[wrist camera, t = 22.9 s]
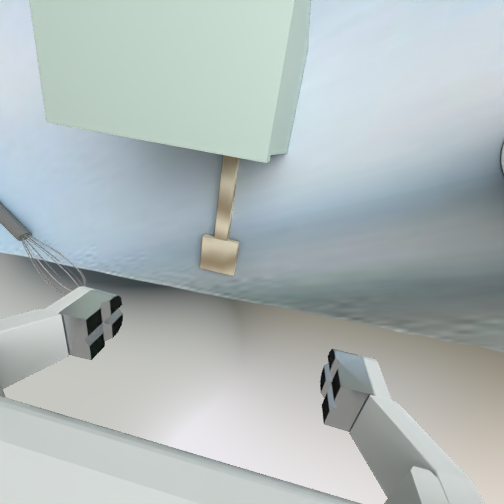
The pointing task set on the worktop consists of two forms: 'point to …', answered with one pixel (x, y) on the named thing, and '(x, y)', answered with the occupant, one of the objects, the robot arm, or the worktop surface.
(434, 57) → the worktop surface
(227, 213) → the turner
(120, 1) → the shelf
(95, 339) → the robot arm
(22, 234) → the kitchen whisk
